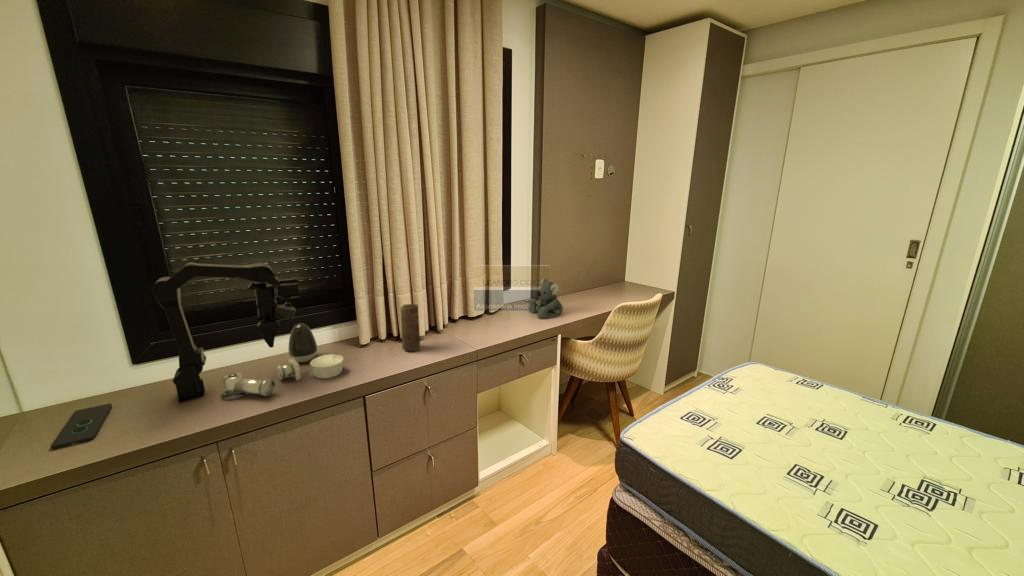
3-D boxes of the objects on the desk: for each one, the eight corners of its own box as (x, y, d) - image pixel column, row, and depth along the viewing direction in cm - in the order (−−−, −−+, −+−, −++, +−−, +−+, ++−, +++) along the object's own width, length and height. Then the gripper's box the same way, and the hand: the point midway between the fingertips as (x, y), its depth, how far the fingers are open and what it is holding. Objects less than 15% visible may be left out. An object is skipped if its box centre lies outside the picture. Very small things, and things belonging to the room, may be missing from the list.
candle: (415, 353, 163) (413, 308, 158) (399, 352, 164) (396, 307, 159) (423, 346, 170) (421, 303, 165) (407, 345, 171) (405, 301, 166)
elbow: (221, 395, 127) (218, 378, 125) (234, 387, 132) (231, 370, 131) (264, 399, 126) (261, 381, 124) (276, 391, 131) (273, 373, 129)
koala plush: (526, 310, 222) (527, 277, 217) (553, 307, 229) (555, 275, 224) (540, 320, 207) (541, 284, 202) (569, 316, 214) (571, 282, 209)
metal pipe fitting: (223, 402, 124) (220, 385, 123) (219, 393, 130) (215, 376, 128) (301, 379, 140) (299, 364, 138) (294, 372, 145) (292, 357, 144)
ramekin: (350, 371, 147) (349, 358, 145) (323, 383, 137) (321, 369, 136) (333, 364, 152) (332, 351, 151) (305, 375, 143) (303, 361, 142)
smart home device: (48, 446, 100) (74, 410, 116) (50, 452, 101) (75, 415, 117) (93, 435, 105) (112, 402, 121) (95, 441, 105) (114, 407, 121)
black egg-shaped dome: (286, 366, 149) (281, 329, 145) (293, 355, 159) (288, 320, 155) (315, 364, 152) (311, 327, 148) (320, 353, 162) (316, 318, 158)
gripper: (294, 304, 130) (299, 347, 134) (291, 291, 145) (295, 330, 149) (254, 308, 124) (260, 353, 128) (255, 294, 139) (261, 335, 143)
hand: (271, 342), depth 137 cm, fingers open, 9 cm apart
